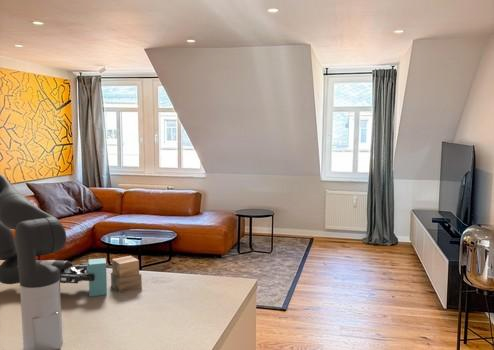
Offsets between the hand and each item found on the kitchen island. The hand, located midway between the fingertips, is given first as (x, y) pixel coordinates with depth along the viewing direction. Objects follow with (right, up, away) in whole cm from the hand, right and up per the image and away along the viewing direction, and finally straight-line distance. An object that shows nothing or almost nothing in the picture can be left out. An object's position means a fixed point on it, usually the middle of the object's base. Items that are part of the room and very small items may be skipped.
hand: (99, 273), depth 148 cm
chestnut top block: (+7, -1, +6) cm, 10 cm away
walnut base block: (+7, -6, +7) cm, 12 cm away
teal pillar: (-1, -7, +1) cm, 7 cm away
